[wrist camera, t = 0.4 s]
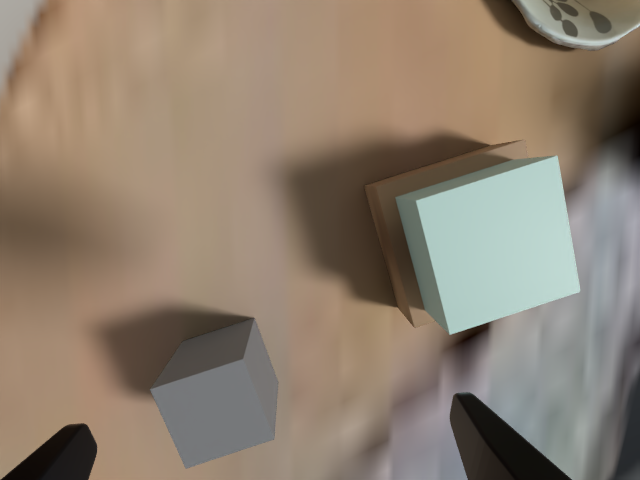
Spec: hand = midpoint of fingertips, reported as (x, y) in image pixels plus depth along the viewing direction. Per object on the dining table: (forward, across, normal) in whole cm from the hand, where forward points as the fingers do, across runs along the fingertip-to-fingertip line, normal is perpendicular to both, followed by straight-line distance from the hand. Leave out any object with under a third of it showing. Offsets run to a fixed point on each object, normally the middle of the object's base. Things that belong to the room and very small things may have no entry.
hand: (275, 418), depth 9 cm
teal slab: (+10, -10, 0) cm, 14 cm away
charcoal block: (+11, +4, +8) cm, 14 cm away
